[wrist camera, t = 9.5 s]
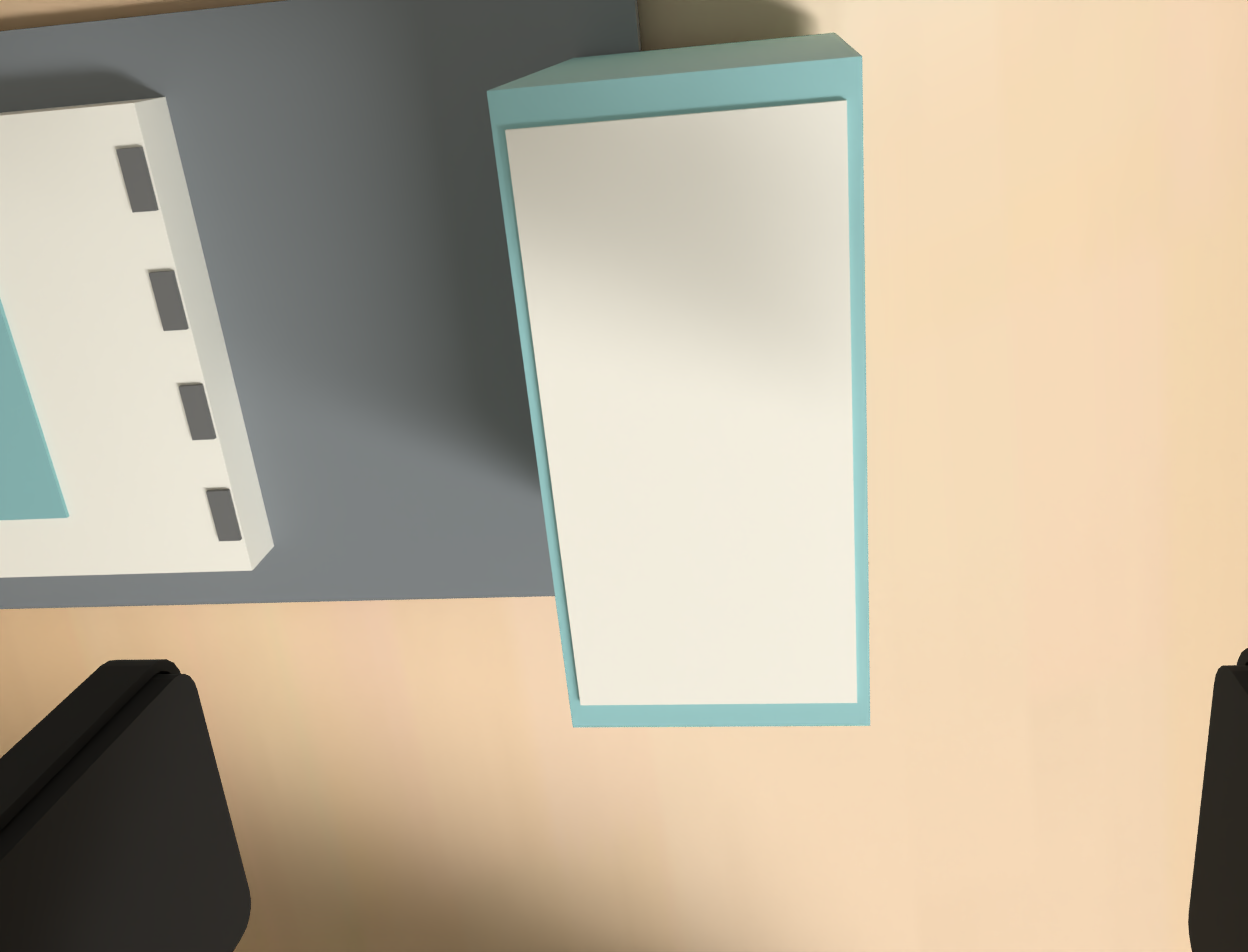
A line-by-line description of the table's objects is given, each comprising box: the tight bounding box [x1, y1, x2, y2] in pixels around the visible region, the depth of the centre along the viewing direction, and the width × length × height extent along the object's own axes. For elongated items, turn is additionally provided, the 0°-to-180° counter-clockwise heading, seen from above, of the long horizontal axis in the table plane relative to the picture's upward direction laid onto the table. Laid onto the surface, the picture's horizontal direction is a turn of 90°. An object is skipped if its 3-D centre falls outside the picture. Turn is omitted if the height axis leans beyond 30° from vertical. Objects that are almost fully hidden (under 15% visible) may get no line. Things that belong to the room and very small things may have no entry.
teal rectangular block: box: [487, 33, 870, 727], centre depth 19 cm, size 5×10×7 cm, turn 6°
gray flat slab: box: [0, 0, 641, 609], centre depth 24 cm, size 22×13×2 cm, turn 96°
